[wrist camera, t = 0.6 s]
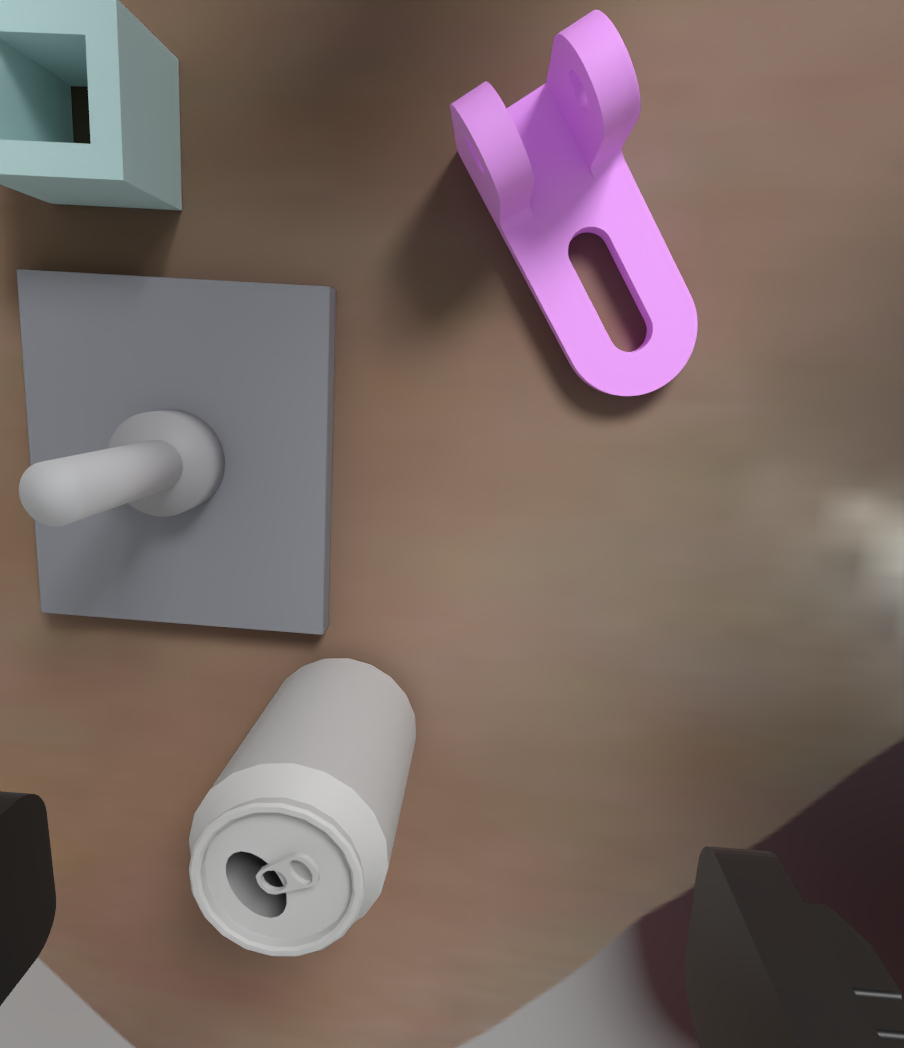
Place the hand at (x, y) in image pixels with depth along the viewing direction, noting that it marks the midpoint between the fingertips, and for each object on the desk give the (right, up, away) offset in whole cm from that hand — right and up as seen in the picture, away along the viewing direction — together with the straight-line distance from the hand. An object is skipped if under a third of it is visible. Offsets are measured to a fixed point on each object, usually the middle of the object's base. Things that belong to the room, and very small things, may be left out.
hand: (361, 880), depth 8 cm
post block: (-12, +8, +25) cm, 28 cm away
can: (-4, -6, +28) cm, 28 cm away
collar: (-14, +21, +22) cm, 34 cm away
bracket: (+7, +16, +22) cm, 28 cm away
